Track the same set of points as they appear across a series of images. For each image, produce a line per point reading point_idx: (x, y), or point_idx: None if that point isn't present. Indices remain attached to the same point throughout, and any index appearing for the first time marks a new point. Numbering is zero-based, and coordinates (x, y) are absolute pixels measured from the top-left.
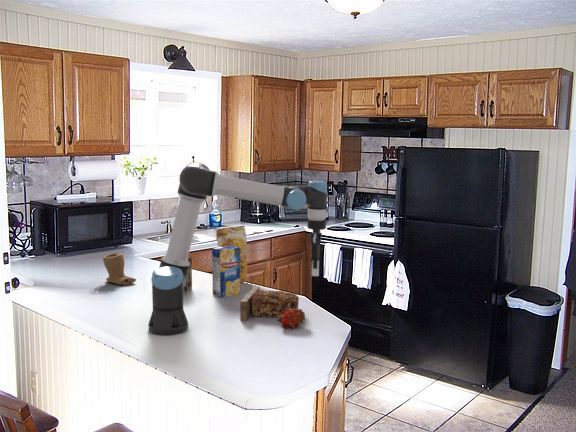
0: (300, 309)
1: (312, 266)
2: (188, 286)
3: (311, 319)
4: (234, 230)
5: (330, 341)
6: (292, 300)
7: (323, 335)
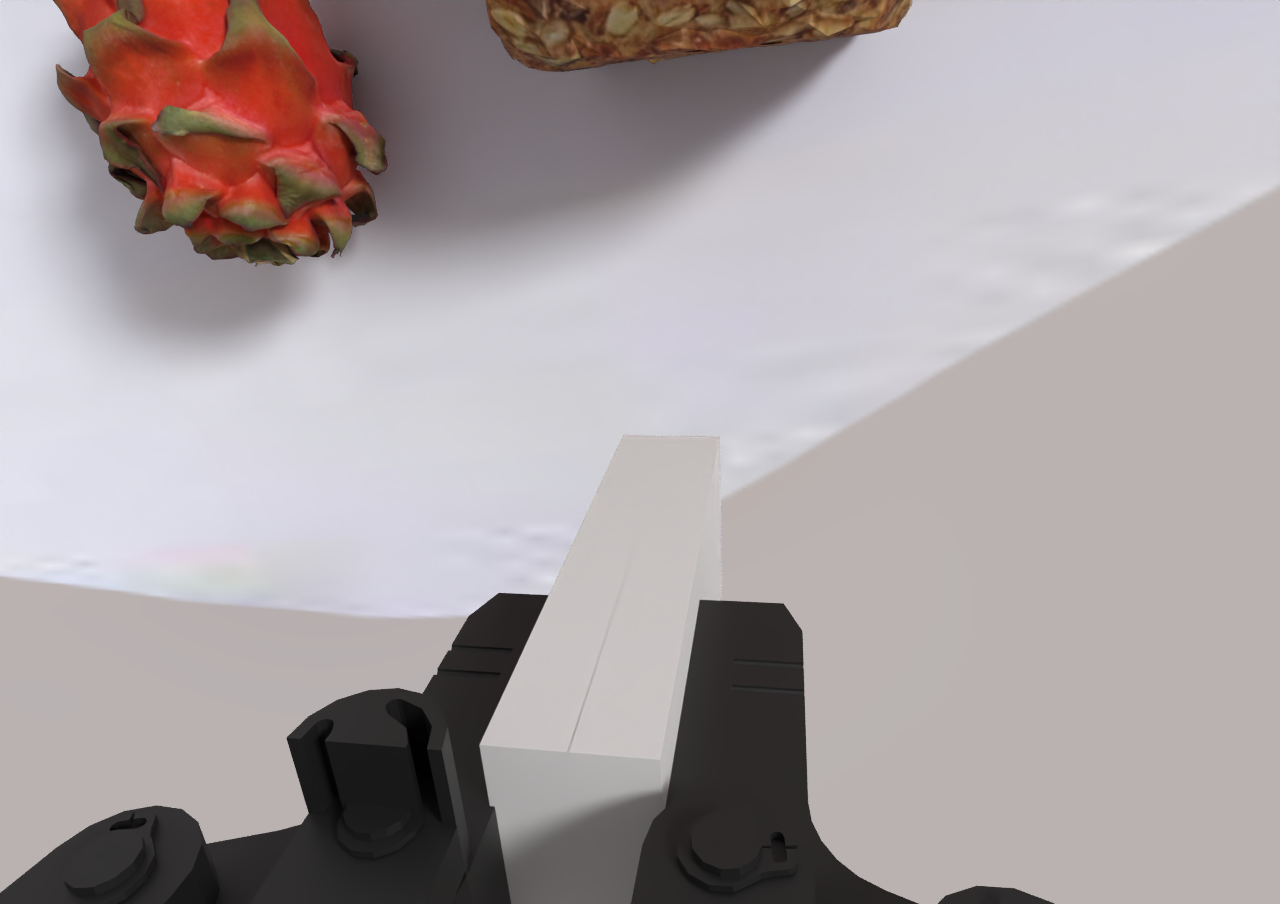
0: (229, 216)
1: (558, 593)
2: None
3: (609, 272)
4: None
5: (109, 513)
6: (492, 1)
7: (206, 449)
